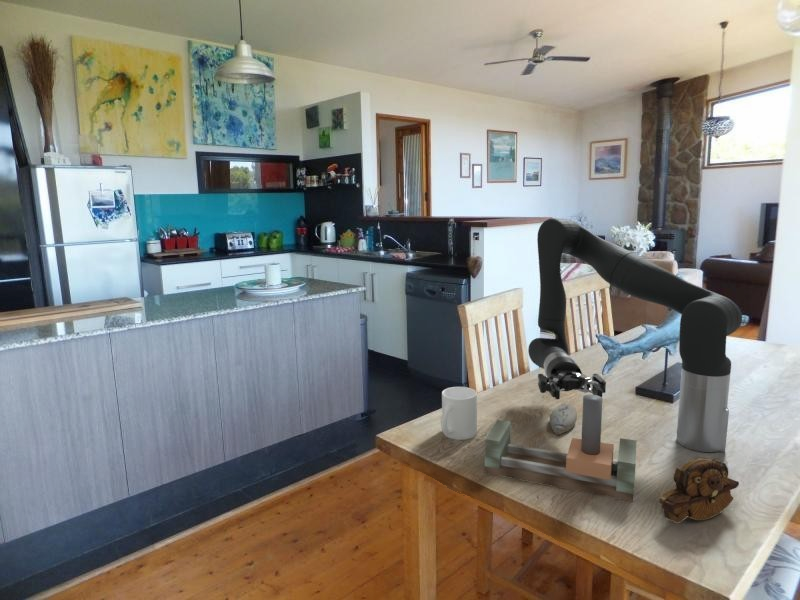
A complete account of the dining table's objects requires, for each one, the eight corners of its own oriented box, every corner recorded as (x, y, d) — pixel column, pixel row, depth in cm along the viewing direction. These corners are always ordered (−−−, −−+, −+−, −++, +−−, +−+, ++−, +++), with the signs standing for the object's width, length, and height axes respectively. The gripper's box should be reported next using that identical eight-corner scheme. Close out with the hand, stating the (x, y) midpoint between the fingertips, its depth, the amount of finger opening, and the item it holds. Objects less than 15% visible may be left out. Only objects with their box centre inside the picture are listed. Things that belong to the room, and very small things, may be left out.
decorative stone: (545, 435, 124) (545, 422, 124) (554, 411, 138) (554, 398, 137) (572, 439, 122) (572, 426, 121) (578, 414, 136) (579, 401, 135)
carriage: (613, 458, 106) (616, 392, 103) (610, 480, 98) (613, 409, 95) (571, 451, 109) (573, 387, 106) (565, 472, 101) (568, 403, 98)
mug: (458, 450, 118) (457, 407, 116) (427, 441, 123) (426, 399, 121) (483, 431, 127) (483, 390, 125) (453, 423, 132) (453, 384, 130)
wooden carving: (679, 538, 86) (683, 482, 84) (654, 522, 90) (658, 469, 88) (742, 510, 93) (747, 458, 91) (717, 497, 97) (722, 447, 95)
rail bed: (634, 475, 105) (636, 440, 104) (633, 501, 96) (635, 464, 95) (497, 451, 117) (497, 419, 115) (484, 472, 108) (484, 439, 106)
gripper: (532, 356, 128) (545, 378, 112) (592, 355, 127) (613, 378, 111) (531, 385, 129) (544, 411, 113) (591, 385, 128) (612, 411, 112)
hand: (578, 395), depth 112 cm, fingers open, 8 cm apart
